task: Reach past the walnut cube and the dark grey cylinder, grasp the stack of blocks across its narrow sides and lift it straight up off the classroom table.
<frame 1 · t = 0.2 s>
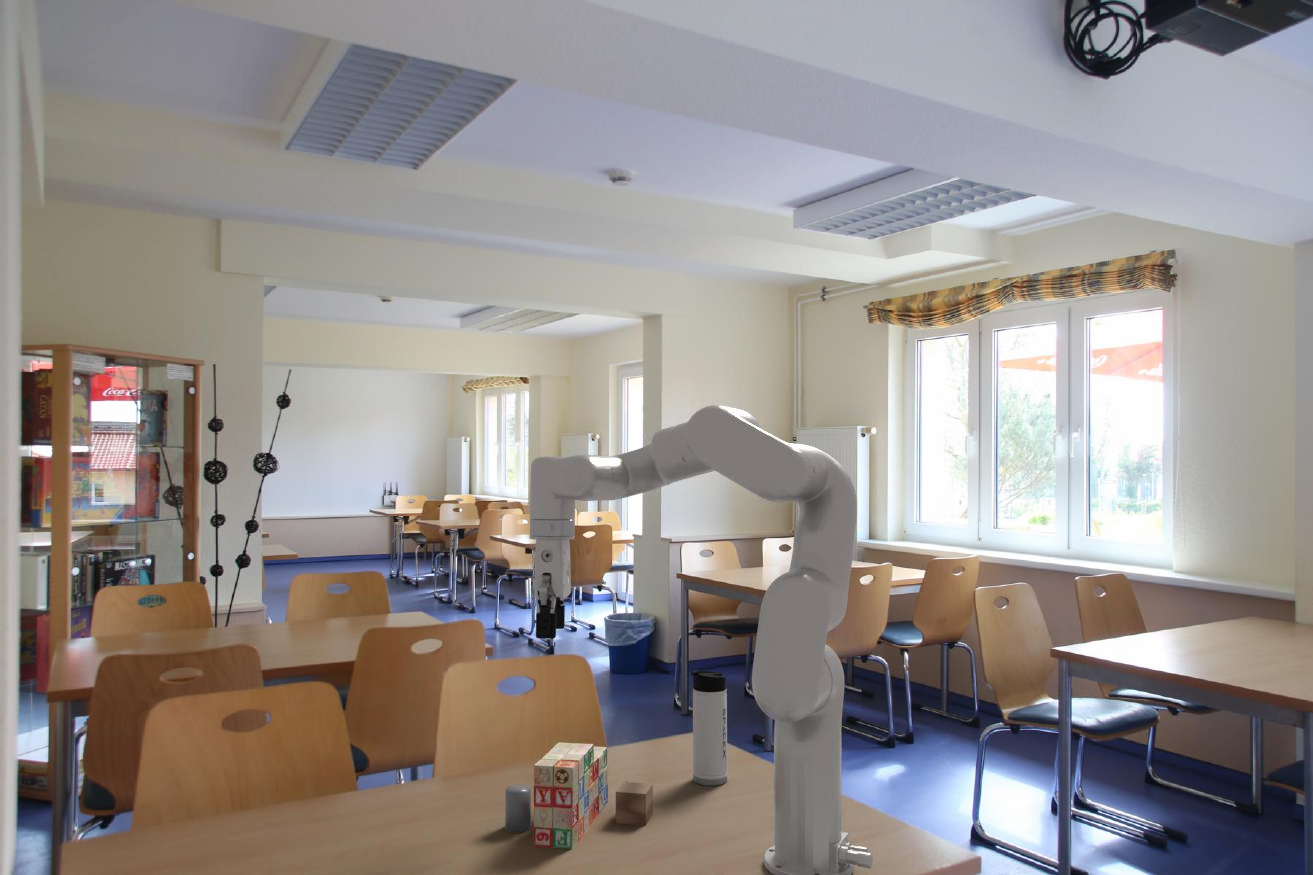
hand: (550, 633, 149), 30 cm above the table, tool pointing down, fingers open, 9 cm apart
stack of blocks: (573, 824, 144), on the table
dark grey cylinder: (517, 827, 142), on the table
walnut cube: (634, 818, 146), on the table
travel mug: (709, 781, 164), on the table
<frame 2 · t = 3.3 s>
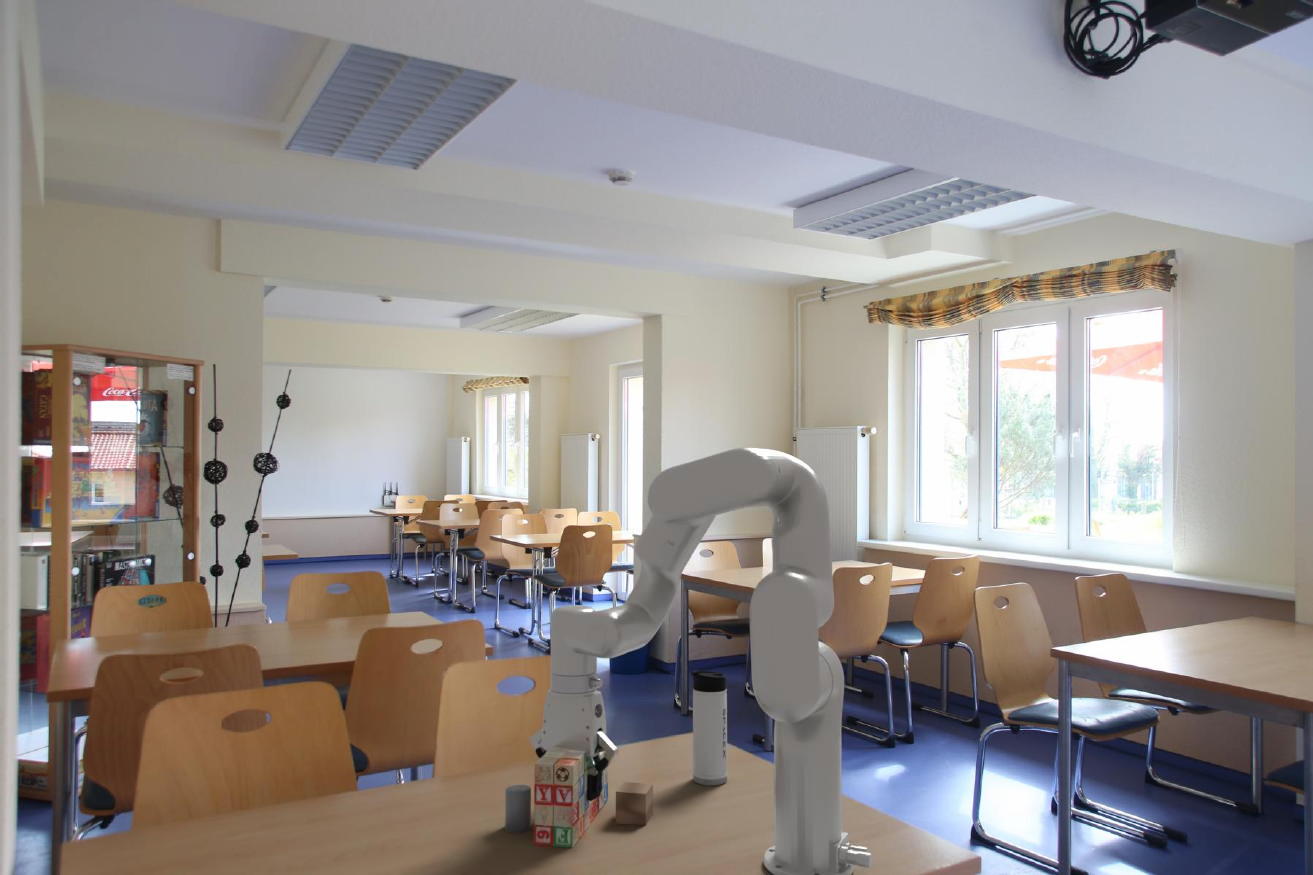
hand: (572, 793, 144), 4 cm above the table, tool pointing down, fingers closed on stack of blocks, 7 cm apart
stack of blocks: (573, 822, 144), on the table, touching gripper
everything else where it was.
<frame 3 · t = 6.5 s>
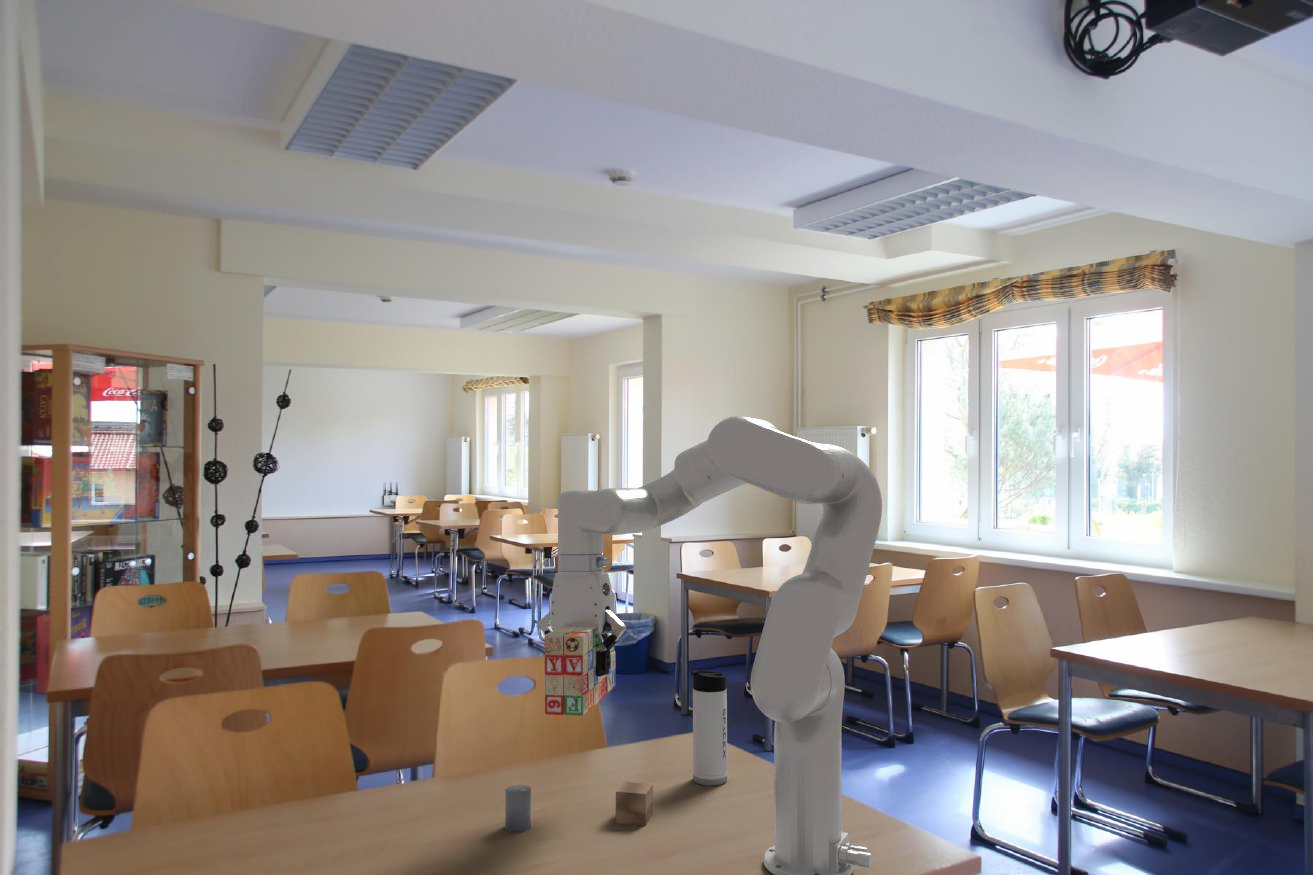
hand: (581, 672, 147), 23 cm above the table, tool pointing down, fingers closed on stack of blocks, 7 cm apart
stack of blocks: (582, 700, 147), point 19 cm above the table, touching gripper
everything else where it was.
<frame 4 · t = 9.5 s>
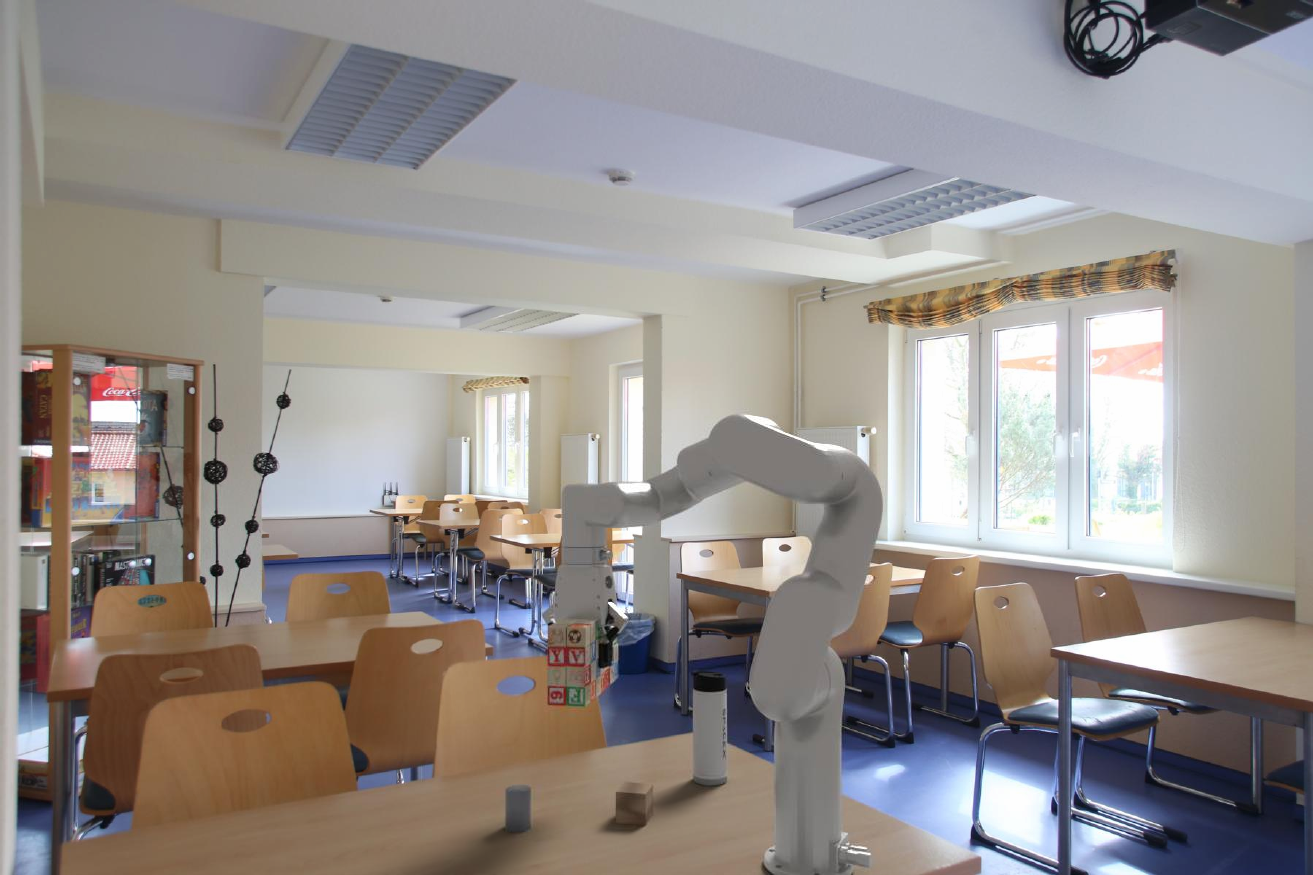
hand: (584, 664, 148), 25 cm above the table, tool pointing down, fingers closed on stack of blocks, 7 cm apart
stack of blocks: (585, 692, 148), point 20 cm above the table, touching gripper
everything else where it was.
at the end: stack of blocks point 19.9 cm above the table; the gripper is holding stack of blocks; stack of blocks touching gripper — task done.
